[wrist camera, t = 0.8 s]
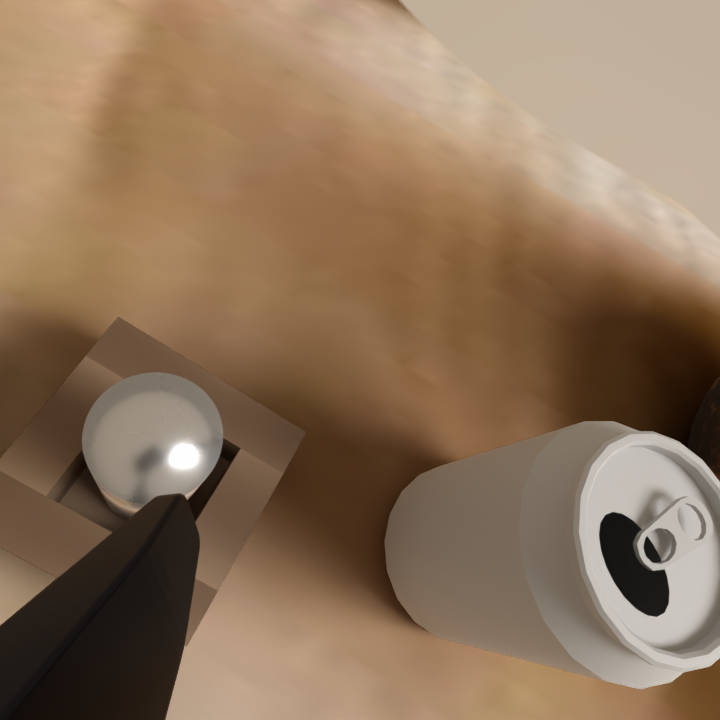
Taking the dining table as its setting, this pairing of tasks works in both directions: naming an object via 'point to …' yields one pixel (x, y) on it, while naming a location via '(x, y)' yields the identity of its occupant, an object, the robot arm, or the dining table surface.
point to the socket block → (82, 495)
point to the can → (568, 553)
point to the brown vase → (708, 430)
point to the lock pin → (151, 440)
